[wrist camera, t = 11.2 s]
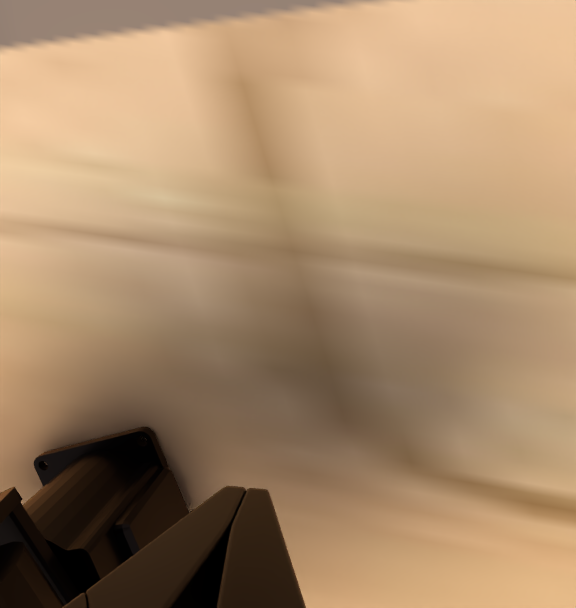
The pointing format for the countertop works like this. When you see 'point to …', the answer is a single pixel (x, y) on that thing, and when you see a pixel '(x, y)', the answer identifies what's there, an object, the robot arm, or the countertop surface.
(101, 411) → the countertop surface
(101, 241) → the countertop surface
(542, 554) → the countertop surface
